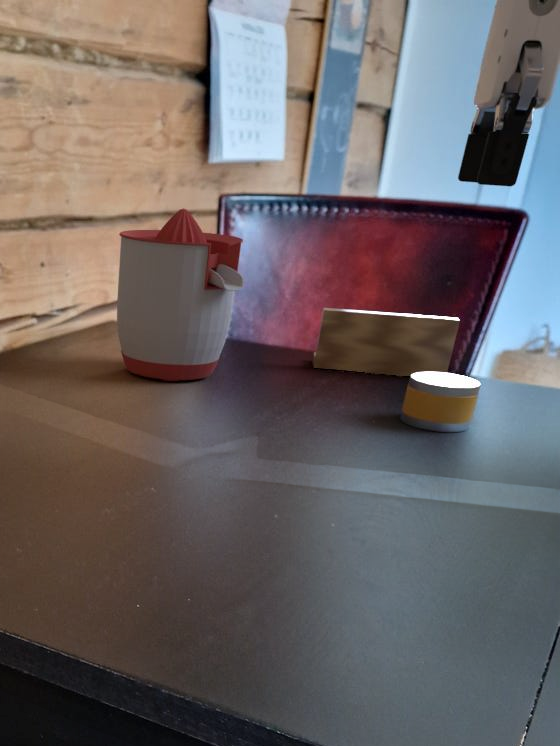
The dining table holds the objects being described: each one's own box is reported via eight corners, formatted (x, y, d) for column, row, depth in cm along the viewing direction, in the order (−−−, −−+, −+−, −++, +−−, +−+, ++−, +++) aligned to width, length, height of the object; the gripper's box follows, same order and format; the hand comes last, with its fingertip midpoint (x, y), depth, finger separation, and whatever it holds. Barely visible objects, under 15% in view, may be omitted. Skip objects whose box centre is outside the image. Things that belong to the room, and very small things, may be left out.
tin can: (462, 417, 102) (474, 374, 100) (475, 435, 96) (487, 390, 93) (396, 411, 104) (405, 369, 101) (404, 428, 97) (414, 384, 95)
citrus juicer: (183, 396, 106) (202, 216, 95) (87, 368, 116) (94, 203, 106) (260, 379, 115) (284, 214, 105) (164, 355, 126) (178, 203, 116)
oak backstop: (438, 371, 125) (452, 313, 120) (444, 380, 119) (460, 320, 115) (312, 360, 127) (322, 303, 123) (313, 369, 122) (324, 309, 118)
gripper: (628, -72, 63) (551, 189, 72) (563, -29, 78) (506, 183, 86) (520, -74, 64) (458, 183, 73) (477, -32, 79) (429, 178, 88)
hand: (484, 183), depth 80 cm, fingers open, 9 cm apart
